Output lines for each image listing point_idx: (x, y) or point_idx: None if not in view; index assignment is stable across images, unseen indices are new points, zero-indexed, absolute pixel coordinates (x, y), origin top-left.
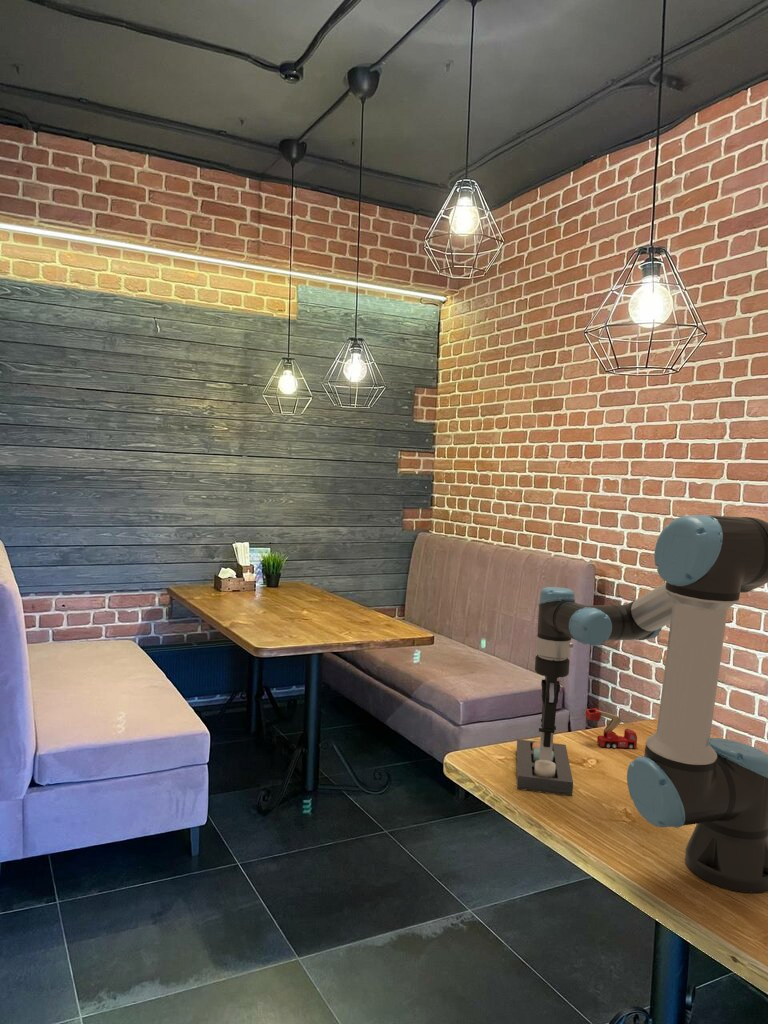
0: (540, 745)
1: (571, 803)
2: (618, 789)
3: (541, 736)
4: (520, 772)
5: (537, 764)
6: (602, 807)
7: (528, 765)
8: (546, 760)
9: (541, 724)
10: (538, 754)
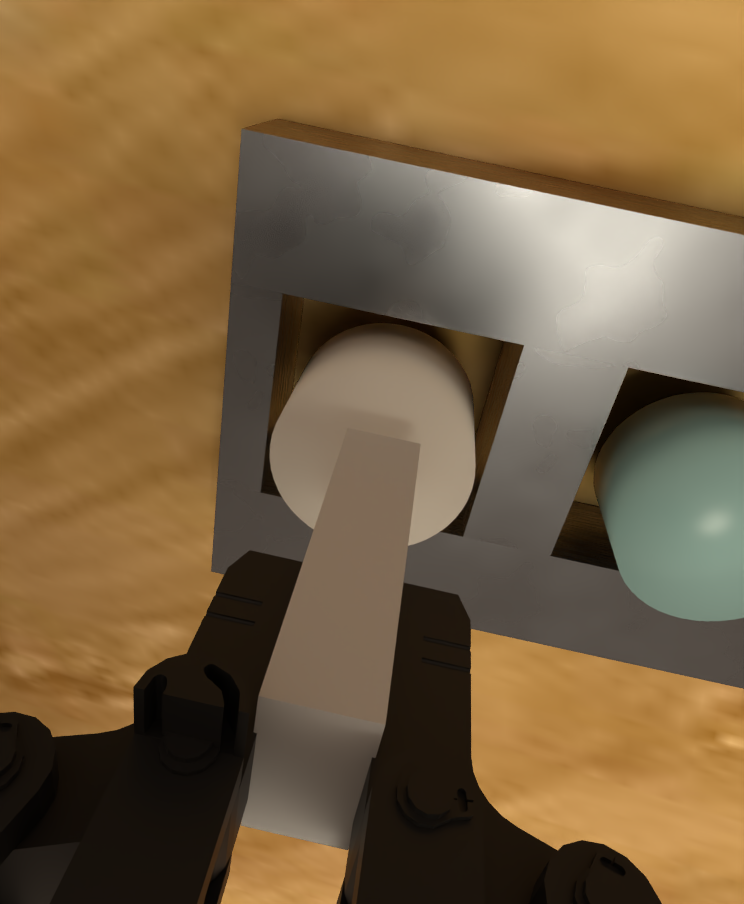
0: (314, 527)
1: (124, 474)
2: None
3: (284, 627)
4: (341, 180)
5: (332, 385)
6: (125, 613)
7: (540, 315)
8: (457, 499)
9: (422, 815)
10: (661, 471)
